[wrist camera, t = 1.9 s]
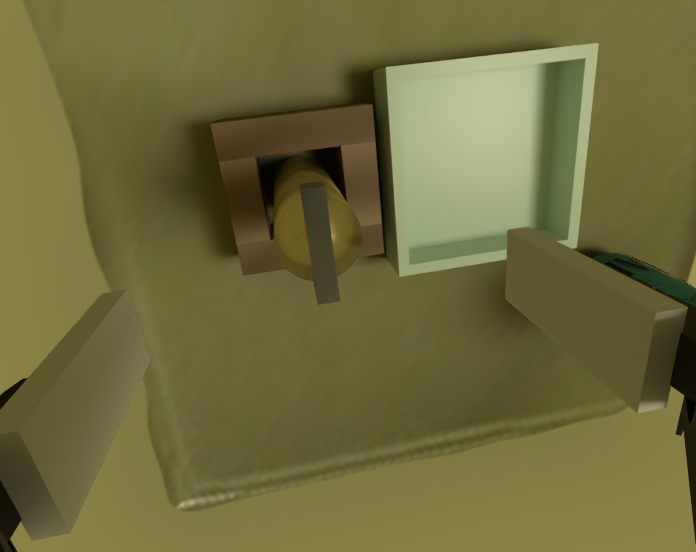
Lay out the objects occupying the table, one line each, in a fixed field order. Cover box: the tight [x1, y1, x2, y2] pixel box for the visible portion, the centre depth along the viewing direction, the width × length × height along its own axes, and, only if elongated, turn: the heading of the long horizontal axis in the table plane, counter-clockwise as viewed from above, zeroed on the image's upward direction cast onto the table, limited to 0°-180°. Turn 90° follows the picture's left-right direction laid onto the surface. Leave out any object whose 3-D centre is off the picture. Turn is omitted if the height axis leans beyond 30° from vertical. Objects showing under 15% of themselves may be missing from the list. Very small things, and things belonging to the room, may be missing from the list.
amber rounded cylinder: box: [274, 155, 362, 305], centre depth 26 cm, size 5×4×15 cm
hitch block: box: [210, 103, 384, 276], centre depth 31 cm, size 10×10×4 cm
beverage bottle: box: [592, 253, 696, 307], centre depth 31 cm, size 6×7×20 cm
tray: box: [372, 43, 599, 277], centre depth 32 cm, size 14×14×4 cm
